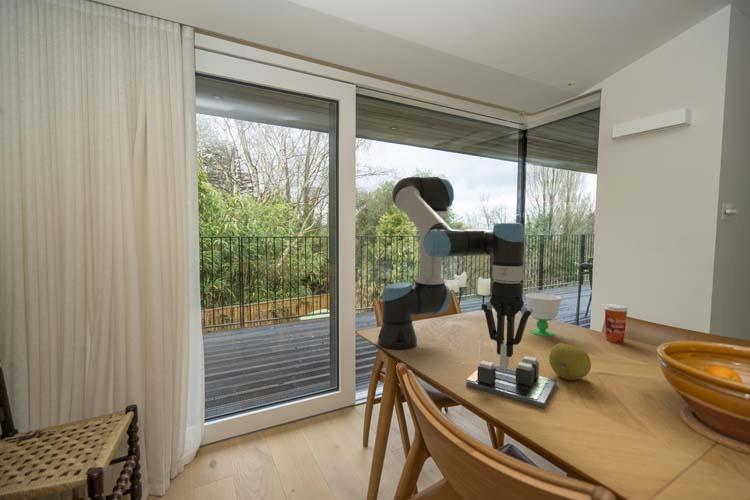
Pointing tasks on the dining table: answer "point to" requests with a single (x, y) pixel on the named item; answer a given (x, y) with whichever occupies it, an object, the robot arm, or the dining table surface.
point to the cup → (543, 311)
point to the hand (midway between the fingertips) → (504, 366)
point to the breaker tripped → (486, 372)
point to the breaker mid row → (525, 373)
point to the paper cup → (615, 322)
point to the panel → (516, 387)
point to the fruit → (569, 361)
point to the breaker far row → (534, 364)
